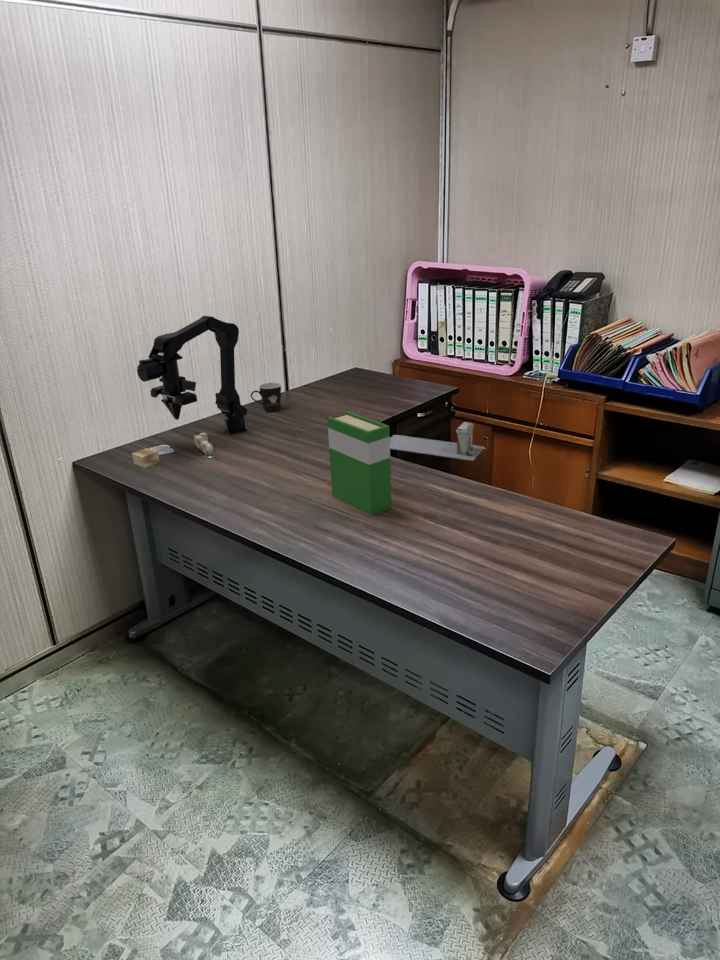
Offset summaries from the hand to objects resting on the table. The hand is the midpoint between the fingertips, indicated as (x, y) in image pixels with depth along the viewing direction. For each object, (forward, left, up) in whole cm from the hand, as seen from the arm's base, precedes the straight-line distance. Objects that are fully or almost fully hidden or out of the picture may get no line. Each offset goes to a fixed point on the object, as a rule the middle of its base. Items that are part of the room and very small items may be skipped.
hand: (177, 419), depth 237 cm
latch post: (-8, -1, -11) cm, 14 cm away
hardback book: (-29, +72, -12) cm, 78 cm away
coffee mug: (-43, -22, -12) cm, 50 cm away
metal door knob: (-6, +11, -11) cm, 17 cm away
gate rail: (-6, +4, -11) cm, 13 cm away
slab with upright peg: (-70, +50, -12) cm, 87 cm away
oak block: (+13, +4, -12) cm, 18 cm away
